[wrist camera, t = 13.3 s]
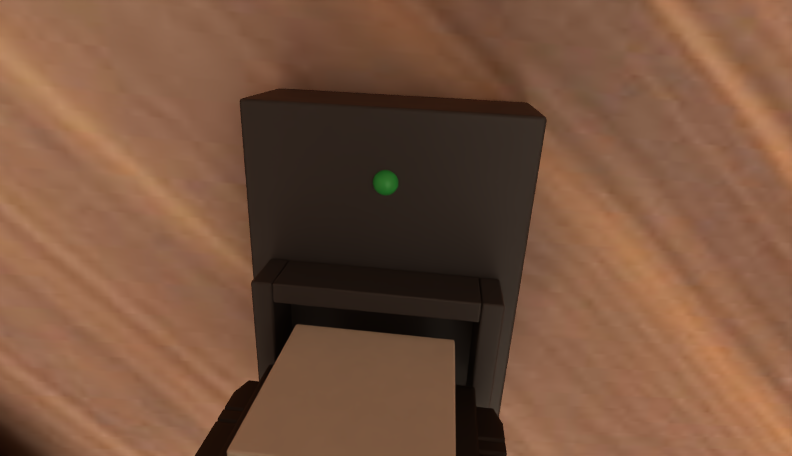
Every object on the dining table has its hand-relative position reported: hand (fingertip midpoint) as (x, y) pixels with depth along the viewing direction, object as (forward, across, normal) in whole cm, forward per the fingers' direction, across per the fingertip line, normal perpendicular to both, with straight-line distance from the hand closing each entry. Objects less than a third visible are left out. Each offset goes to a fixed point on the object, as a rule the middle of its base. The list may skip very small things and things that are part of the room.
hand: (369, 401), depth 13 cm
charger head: (0, 0, 0) cm, 0 cm away
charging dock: (+5, 0, -2) cm, 5 cm away
